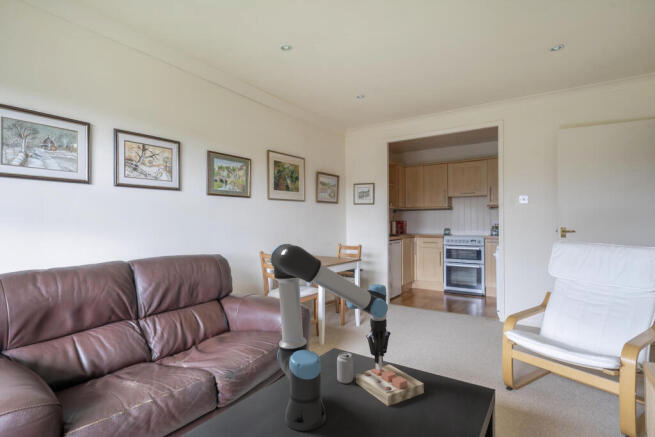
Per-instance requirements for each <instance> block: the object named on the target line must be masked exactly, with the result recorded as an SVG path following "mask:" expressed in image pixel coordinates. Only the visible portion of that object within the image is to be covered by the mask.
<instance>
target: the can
mask: <svg viewBox="0 0 655 437" xmlns="http://www.w3.org/2000/svg"><path fill="white" fill-rule="evenodd" d="M336 372H337V373H336V380H337V381H338V382H339V383H340V384H344V385H345V384H350V383H352V382H353V381H354V357H353V355H352V353H350V352H341V353H339V354H338V356H337V358H336Z"/></svg>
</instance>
